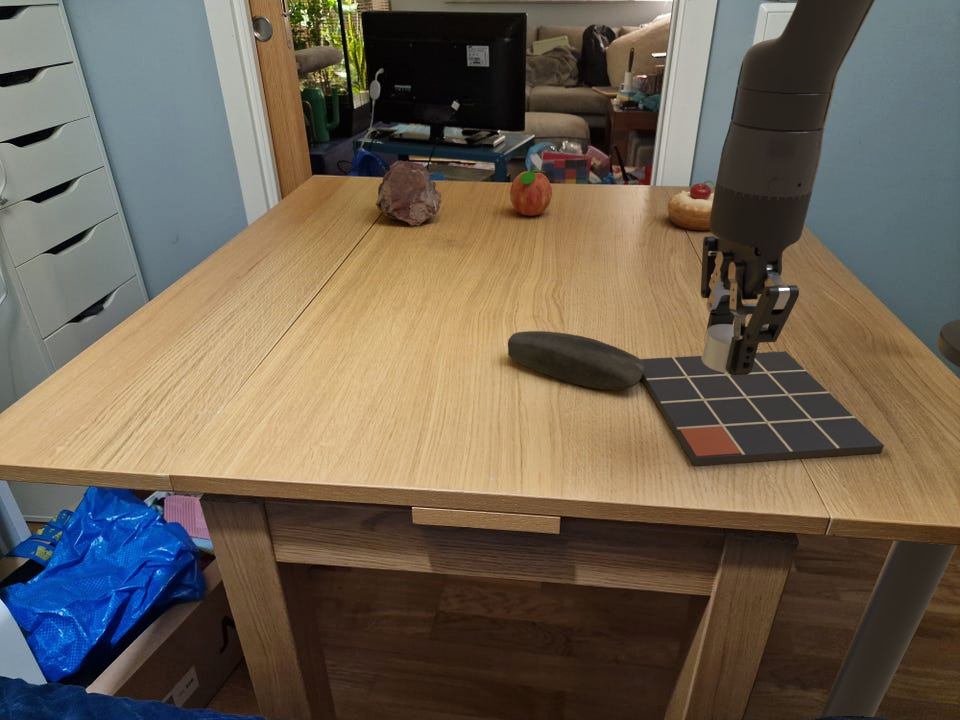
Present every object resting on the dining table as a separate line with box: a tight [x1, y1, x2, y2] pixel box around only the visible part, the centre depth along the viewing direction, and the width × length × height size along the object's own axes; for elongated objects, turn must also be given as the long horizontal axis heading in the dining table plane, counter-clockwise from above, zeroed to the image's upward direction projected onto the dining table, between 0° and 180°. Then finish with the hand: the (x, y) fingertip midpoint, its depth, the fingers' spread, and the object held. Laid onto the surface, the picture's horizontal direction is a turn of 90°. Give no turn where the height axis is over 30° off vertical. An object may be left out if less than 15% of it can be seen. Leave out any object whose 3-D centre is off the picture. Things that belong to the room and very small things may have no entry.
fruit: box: [509, 164, 553, 217], centre depth 136 cm, size 9×10×10 cm
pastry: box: [667, 180, 716, 232], centre depth 131 cm, size 12×12×9 cm
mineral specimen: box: [375, 160, 442, 227], centre depth 134 cm, size 12×13×15 cm
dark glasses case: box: [507, 330, 645, 391], centre depth 81 cm, size 17×6×4 cm, turn 66°
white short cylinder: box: [701, 324, 734, 373], centre depth 63 cm, size 4×4×3 cm
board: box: [640, 350, 885, 467], centre depth 75 cm, size 20×20×1 cm
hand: (726, 359), depth 63 cm, fingers closed on white short cylinder, 4 cm apart
